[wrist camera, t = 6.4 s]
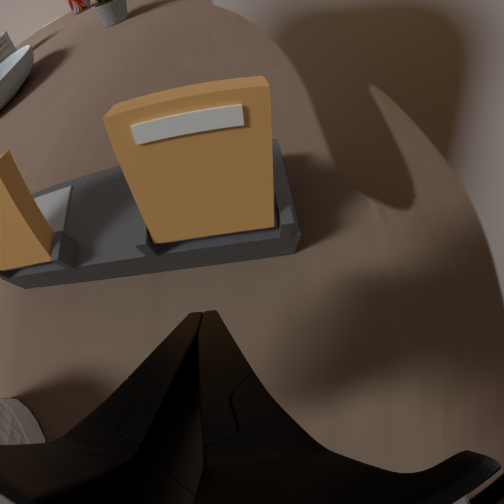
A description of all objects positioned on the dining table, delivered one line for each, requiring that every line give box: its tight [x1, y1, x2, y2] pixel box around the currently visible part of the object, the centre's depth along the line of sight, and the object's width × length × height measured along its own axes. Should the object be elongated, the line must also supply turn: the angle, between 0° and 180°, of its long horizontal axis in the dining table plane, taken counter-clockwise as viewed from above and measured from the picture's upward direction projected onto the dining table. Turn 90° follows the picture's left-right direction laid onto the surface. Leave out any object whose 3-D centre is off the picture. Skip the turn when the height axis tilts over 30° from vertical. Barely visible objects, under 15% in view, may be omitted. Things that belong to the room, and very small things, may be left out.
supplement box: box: [0, 31, 17, 64], centre depth 33 cm, size 7×7×13 cm
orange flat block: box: [103, 76, 278, 245], centre depth 11 cm, size 2×6×8 cm, turn 97°
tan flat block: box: [0, 150, 54, 271], centre depth 11 cm, size 2×6×8 cm, turn 98°
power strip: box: [0, 139, 301, 289], centre depth 16 cm, size 7×31×5 cm, turn 98°
